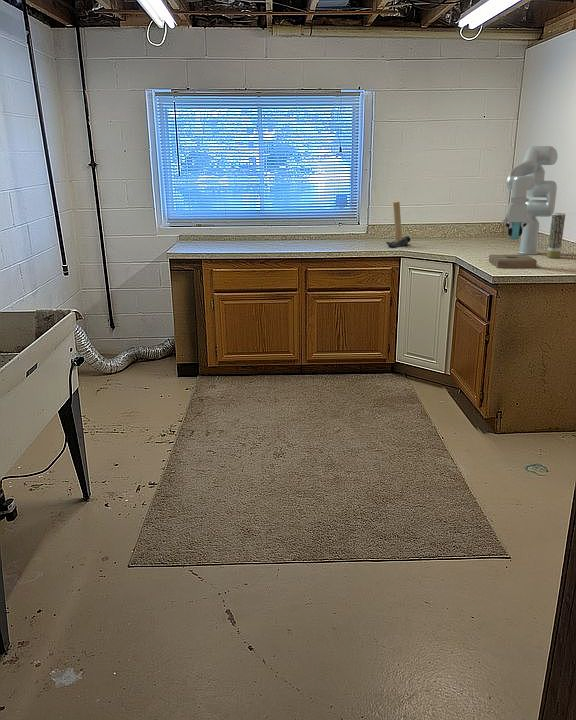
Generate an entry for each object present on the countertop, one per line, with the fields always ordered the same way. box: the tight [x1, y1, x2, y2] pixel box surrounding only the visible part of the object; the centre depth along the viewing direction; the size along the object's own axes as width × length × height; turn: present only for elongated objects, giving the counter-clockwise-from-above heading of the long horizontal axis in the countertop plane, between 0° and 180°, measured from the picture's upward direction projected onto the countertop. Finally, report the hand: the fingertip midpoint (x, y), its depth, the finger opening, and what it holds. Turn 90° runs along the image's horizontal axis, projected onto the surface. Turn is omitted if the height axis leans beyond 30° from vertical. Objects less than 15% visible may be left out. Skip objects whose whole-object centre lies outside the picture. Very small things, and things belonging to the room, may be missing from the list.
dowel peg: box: [509, 222, 520, 240], centre depth 320 cm, size 4×4×9 cm
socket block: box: [488, 254, 538, 269], centre depth 326 cm, size 20×20×4 cm
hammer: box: [385, 200, 411, 248], centre depth 394 cm, size 20×5×30 cm, turn 133°
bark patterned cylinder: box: [546, 212, 566, 259], centre depth 343 cm, size 7×7×25 cm
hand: (514, 235), depth 321 cm, fingers closed on dowel peg, 4 cm apart
